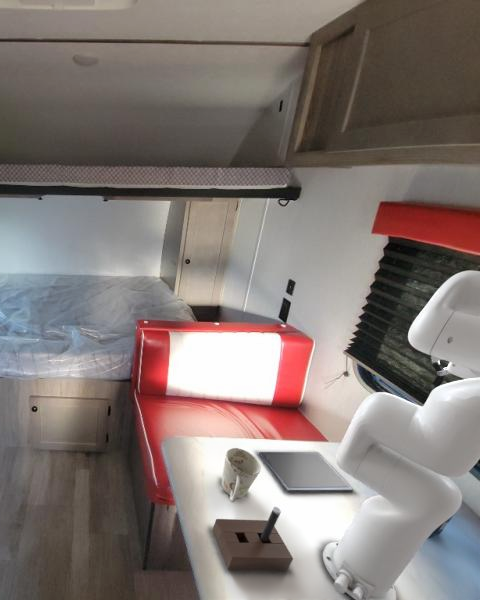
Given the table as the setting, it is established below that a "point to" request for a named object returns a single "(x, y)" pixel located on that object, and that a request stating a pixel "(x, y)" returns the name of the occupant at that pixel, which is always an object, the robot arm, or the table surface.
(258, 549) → the pen stand
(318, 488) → the tablet
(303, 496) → the table surface
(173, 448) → the table surface
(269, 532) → the stylus
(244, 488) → the mug
